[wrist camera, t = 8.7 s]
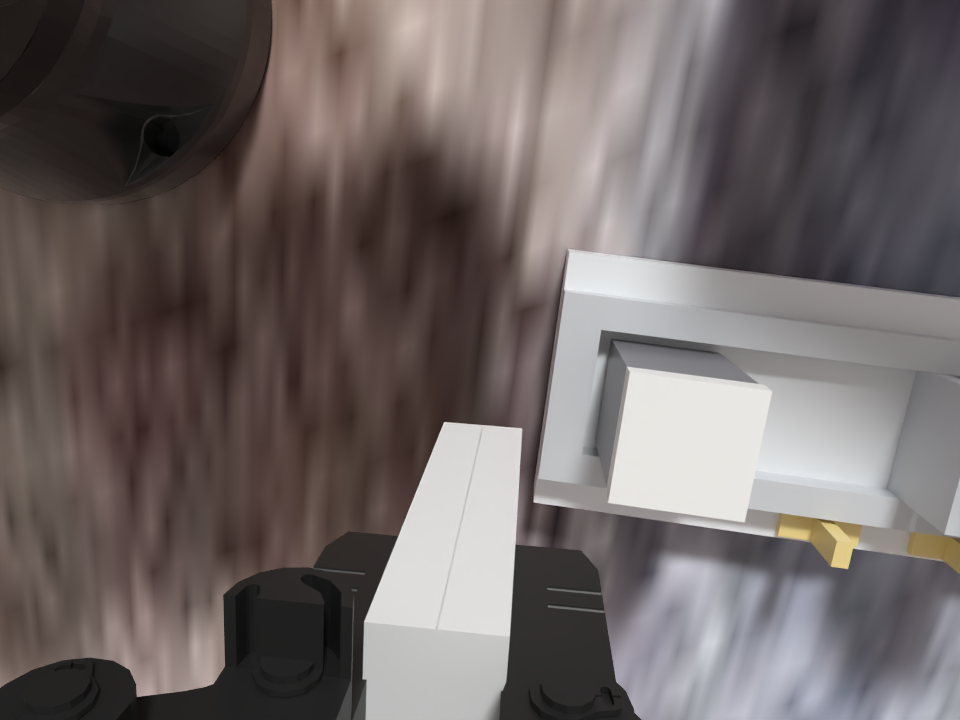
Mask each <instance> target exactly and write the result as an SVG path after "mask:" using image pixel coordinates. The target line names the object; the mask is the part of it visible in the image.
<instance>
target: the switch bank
mask: <svg viewBox="0 0 960 720" xmlns="http://www.w3.org/2000/svg"><path fill="white" fill-rule="evenodd" d="M611 339H618V340H626V341H634V342H641V343H649V344H657V345H664V346H672V347H680V348H687V349H695V350H703V351H710V352H718V353H720V354H721V355H723V356H724V357H725V358H727V359H728V360H729V361H730V362H732V363H733V364H734V365H736V366H737V367H738V368H739V369H741V370H742V371H743V372H744V373H746V374H747V375H748V376H750V377H751V378H752V379H753V380H755V381H756V382H757V383H759V384H763V385H765V386H766V387H768V388H769V389H770V390H772V395H771V400H770V405H769V410H768V414H767V419H766V424H765V429H764V433H763V438H762V443H761V448H760V452H759V457H758V462H757V467H756V471H755V476H754V481H753V486H752V490H751V495H750V500H749V505H748V509H747V514H746V519H745V523H744V522H737V521H730V520H723V519H717V518H710V517H703V516H696V515H689V514H682V513H675V512H668V511H661V510H654V509H647V508H640V507H633V506H626V505H619V504H612V503H608V500H607V496H606V489H607V487H606V483H605V479H604V474H603V470H602V466H601V462H600V458H599V454H598V449H597V445H596V441H595V438H596V432H597V425H598V419H599V413H600V406H601V400H602V394H603V388H604V381H605V375H606V369H607V363H608V356H609V350H610V344H611ZM534 503H541V504H548V505H555V506H562V507H569V508H576V509H583V510H590V511H596V512H603V513H610V514H617V515H624V516H631V517H638V518H645V519H652V520H659V521H666V522H673V523H679V524H686V525H693V526H700V527H707V528H714V529H721V530H728V531H735V532H742V533H749V534H756V535H762V536H769V537H776V538H783V539H790V540H797V541H804V542H811V543H812V544H813V545H814V547H815V548H816V549H817V550H818V552H819V553H820V554H821V555H822V556H823V558H824V559H825V560H826V561H827V562H828V564H829V565H830V566H831V567H837V568H844V569H848V567H849V563H850V559H851V555H852V551H853V549H859V550H866V551H873V552H880V553H887V554H894V555H901V556H908V557H915V558H921V559H928V560H935V561H942V562H946V563H947V564H948V565H949V566H950V567H951V568H953V569H954V570H955V571H956V572H957V573H958V574H960V297H952V296H944V295H936V294H928V293H920V292H912V291H904V290H896V289H887V288H879V287H871V286H863V285H855V284H847V283H839V282H831V281H823V280H815V279H807V278H798V277H790V276H782V275H774V274H766V273H758V272H750V271H742V270H734V269H726V268H718V267H710V266H701V265H693V264H685V263H677V262H669V261H661V260H653V259H645V258H637V257H629V256H621V255H612V254H604V253H596V252H588V251H580V250H572V249H567V256H566V263H565V270H564V277H563V284H562V291H561V298H560V305H559V312H558V319H557V326H556V333H555V340H554V347H553V354H552V361H551V368H550V375H549V382H548V389H547V396H546V403H545V410H544V417H543V424H542V431H541V438H540V445H539V452H538V459H537V466H536V473H535V480H534Z"/></svg>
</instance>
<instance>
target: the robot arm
mask: <svg viewBox="0 0 960 720" xmlns="http://www.w3.org/2000/svg"><path fill="white" fill-rule="evenodd" d="M271 15H272V9H271V0H0V188H2V189H4V190H7V191H10V192H13V193H16V194H20V195H23V196H27V197H31V198H36V199H40V200H45V201H51V202H59V203H80V204H116V203H126V202H132V201H137V200H141V199H145V198H149V197H152V196H155V195H158V194H161V193H163V192H165V191H168V190H170V189H172V188H174V187H176V186H178V185H180V184H182V183H183V182H185V181H187V180H188V179H190V178H191V177H193V176H194V175H196V174H197V173H198V172H200V171H201V170H202V169H203V168H205V167H206V166H207V165H208V164H209V163H210V162H211V161H213V160H214V159H215V158H216V157H217V156H218V155H219V154H220V152H221V151H222V150H223V149H224V148H225V147H226V146H227V144H228V143H229V142H230V141H231V139H232V138H233V137H234V135H235V134H236V132H237V131H238V130H239V128H240V127H241V125H242V123H243V122H244V120H245V118H246V116H247V115H248V113H249V111H250V108H251V106H252V104H253V102H254V100H255V97H256V95H257V92H258V90H259V87H260V84H261V81H262V78H263V74H264V71H265V66H266V62H267V58H268V51H269V45H270V36H271ZM521 441H522V428H510V427H498V426H486V425H474V424H462V423H450V422H444V424H443V426H442V429H441V431H440V434H439V436H438V439H437V441H436V444H435V446H434V449H433V451H432V454H431V456H430V459H429V461H428V464H427V466H426V469H425V471H424V474H423V476H422V479H421V481H420V484H419V486H418V489H417V491H416V494H415V496H414V499H413V501H412V504H411V506H410V509H409V511H408V514H407V516H406V519H405V521H404V524H403V526H402V529H401V531H400V534H399V536H389V535H379V534H368V533H357V532H347V533H346V534H344V535H343V536H341V537H340V538H338V539H337V540H335V541H334V542H332V543H331V544H329V545H327V546H326V547H325V548H324V550H323V552H322V553H321V555H320V557H319V558H318V560H317V562H316V564H315V565H314V569H313V568H280V569H275V570H270V571H265V572H261V573H258V574H256V575H253V576H251V577H249V578H246V579H244V580H242V581H240V582H238V583H237V584H236V585H234V586H233V587H232V588H231V589H230V590H229V591H227V592H226V593H225V594H224V595H223V597H224V637H225V668H224V669H223V671H222V672H221V674H220V675H219V677H218V678H217V680H216V681H215V683H214V684H213V685H210V686H207V687H204V688H199V689H194V690H188V691H183V692H175V693H167V694H159V695H150V696H142V697H137V695H136V683H135V681H134V679H133V677H132V675H131V672H130V670H128V669H127V668H125V667H123V666H121V665H120V664H118V663H116V662H114V661H110V660H103V659H96V658H83V659H74V660H73V659H72V660H64V661H60V662H56V663H53V664H50V665H47V666H44V667H40V668H37V669H34V670H32V671H30V672H28V673H26V674H24V675H22V676H20V677H18V678H17V679H15V680H13V681H11V682H9V683H7V684H5V685H4V686H2V687H1V688H0V720H641V719H640V718H639V717H638V716H637V715H636V714H635V713H634V708H633V706H632V704H631V702H630V700H629V698H628V695H627V693H626V691H625V690H624V689H623V688H622V687H621V686H620V685H619V684H618V683H617V682H616V679H615V673H614V666H613V660H612V654H611V648H610V642H609V636H608V630H607V623H606V617H605V613H604V605H603V599H602V595H601V587H600V580H599V574H598V570H597V568H596V567H595V566H594V565H593V564H592V563H591V562H590V561H589V559H588V558H587V557H586V556H585V555H584V554H583V553H582V551H578V550H567V549H556V548H545V547H535V546H524V545H515V542H516V525H517V508H518V491H519V474H520V458H521Z"/></svg>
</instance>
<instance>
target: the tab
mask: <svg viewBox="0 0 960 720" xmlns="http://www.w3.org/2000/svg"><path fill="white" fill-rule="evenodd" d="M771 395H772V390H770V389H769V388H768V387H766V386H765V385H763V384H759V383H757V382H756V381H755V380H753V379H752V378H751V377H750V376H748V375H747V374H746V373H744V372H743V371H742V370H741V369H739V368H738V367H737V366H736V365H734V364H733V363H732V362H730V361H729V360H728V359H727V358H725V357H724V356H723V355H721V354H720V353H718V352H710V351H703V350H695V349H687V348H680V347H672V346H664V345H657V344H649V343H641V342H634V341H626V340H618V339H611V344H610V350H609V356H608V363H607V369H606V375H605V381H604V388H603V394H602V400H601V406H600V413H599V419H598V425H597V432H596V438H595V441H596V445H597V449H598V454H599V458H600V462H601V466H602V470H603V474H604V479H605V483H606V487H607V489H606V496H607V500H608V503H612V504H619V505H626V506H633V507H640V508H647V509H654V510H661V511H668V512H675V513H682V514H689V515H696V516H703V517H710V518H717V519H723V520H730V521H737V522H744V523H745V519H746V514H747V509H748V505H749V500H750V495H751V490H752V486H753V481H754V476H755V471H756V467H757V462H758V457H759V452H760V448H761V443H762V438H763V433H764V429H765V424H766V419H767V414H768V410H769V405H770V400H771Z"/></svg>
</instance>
